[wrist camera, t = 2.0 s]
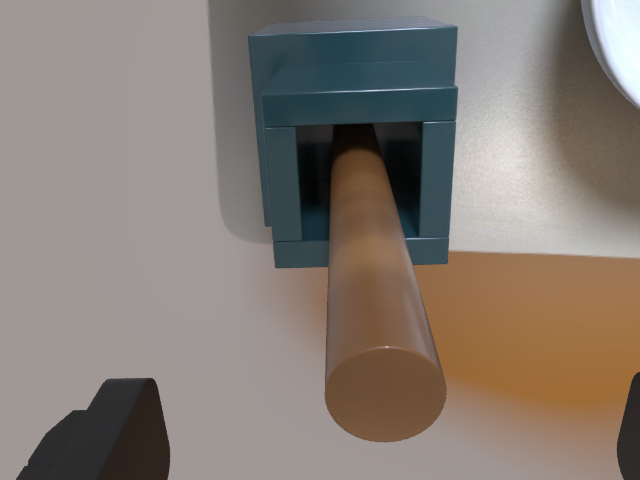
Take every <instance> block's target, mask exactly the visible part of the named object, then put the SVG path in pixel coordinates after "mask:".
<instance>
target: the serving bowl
mask: <svg viewBox="0 0 640 480" xmlns="http://www.w3.org/2000/svg"><path fill="white" fill-rule="evenodd" d="M581 7H582V13H583V19H584V24H585V28H586V32H587V35H588V38H589V41H590V44H591V47H592V49H593V51H594V54H595V56H596V58H597V60H598V62H599V64H600V65H601V67H602V69H603V70H604V72H605V74H606V75H607V77H608V78H609V79H610V81H611V82H612V83H613V85H614V86H615V87H616V88H617V89H618V90H619V92H620V93H621V94H622V95H623V96H624V97H625V98H626V99H627V100H628V101H629V102H630V103H632V104H633V105H634V106H635V107H636V108H638V109H639V110H640V0H581Z"/></svg>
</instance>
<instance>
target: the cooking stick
mask: <svg viewBox="0 0 640 480" xmlns="http://www.w3.org/2000/svg"><path fill="white" fill-rule="evenodd" d="M445 401H446V384H445V379H444V376H443V372H442V368H441V365H440V361H439V358H438V354H437V351H436V347H435V343H434V340H433V336H432V333H431V329H430V325H429V322H428V318H427V315H426V311H425V308H424V304H423V301H422V297H421V293H420V290H419V286H418V282H417V279H416V275H415V272H414V268H413V265H412V261H411V257H410V254H409V250H408V247H407V243H406V239H405V236H404V232H403V229H402V225H401V222H400V218H399V214H398V211H397V207H396V204H395V200H394V196H393V193H392V189H391V186H390V182H389V179H388V175H387V171H386V168H385V164H384V161H383V157H382V153H381V150H380V146H379V143H378V139H377V136H376V132H375V128H374V126H373V124H372V123H367V124H339V125H335V126H334V128H333V132H332V161H331V196H330V231H329V266H328V302H327V336H326V372H325V402H326V405H327V409H328V411H329V413H330V414H331V416H332V418H333V419H334V421H336V423H337V424H338V425H339V426H340V427H341V428H343V429H344V430H345V431H347V432H348V433H350V434H352V435H354V436H356V437H358V438H361V439H364V440H369V441H374V442H395V441H401V440H404V439H408V438H410V437H413V436H415V435H417V434H419V433H421V432H423V431H424V430H426V429H427V428H428V427H429V426H430V425H432V424H433V423H434V421H435V420H436V419H437V418H438V416H439V415H440V413H441V411H442V409H443V407H444V403H445Z"/></svg>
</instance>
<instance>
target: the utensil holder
mask: <svg viewBox="0 0 640 480" xmlns="http://www.w3.org/2000/svg"><path fill="white" fill-rule="evenodd" d="M457 33H458V27H457V26H455V25H451V24H448V23H444V22H441V21H437V20H434V19H430V18H427V17H400V18H377V19H354V20H331V21H308V22H285V23H272V24H270V25H268V26H266V27H264V28H262V29H260V30H258V31H256V32H254V33H252V34H250V35H248V44H249V55H250V66H251V77H252V88H253V99H254V111H255V122H256V133H257V144H258V155H259V166H260V177H261V189H262V200H263V211H264V222H265V226H266V227H267V226H272V237H273V249H274V261H275V268H305V267H328V266H329V231H330V196H331V161H332V132H333V128H334V126H335V125H339V124H367V123H372V124H373V126H374V128H375V132H376V136H377V139H378V143H379V146H380V150H381V153H382V157H383V161H384V164H385V168H386V171H387V175H388V179H389V182H390V186H391V189H392V193H393V196H394V200H395V204H396V207H397V211H398V214H399V218H400V222H401V225H402V229H403V232H404V236H405V239H406V243H407V247H408V250H409V254H410V257H411V261H412V265H425V264H427V265H428V264H447V262H448V248H449V231H450V214H451V198H452V181H453V164H454V148H455V131H456V121H455V120H456V115H457V98H458V87H457V86H456V85H455V68H456V50H457Z"/></svg>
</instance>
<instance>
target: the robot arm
mask: <svg viewBox="0 0 640 480" xmlns="http://www.w3.org/2000/svg"><path fill="white" fill-rule="evenodd" d="M617 458H618V463H619V467H620V471H621V474H622V476H623V479H624V480H640V372H638V373H637V374H636V375H635V376H634V378H633V380H632V383H631V386H630V391H629V395H628V399H627V403H626V407H625V412H624V416H623V420H622V424H621V428H620V433H619V437H618V442H617ZM169 467H170V446H169V440H168V436H167V431H166V426H165V421H164V416H163V411H162V406H161V401H160V396H159V391H158V387H157V384H156V382H155V380H154V379H152V378H130V379H129V378H125V379H107V380H106V381H105V382H104V383H103V384H102V386H101V387H100V389H99V391H98V392H97V394H96V396H95V397H94V399H93V401H92V402H91V404H90V406H89V407H88V409H87V410H73V411H72V412H71V413H70V414H69V415H67V416H66V417H65V418H64V419H63V420H61V421H60V422H59V423H58V424H57V425H56V426H54V427H53V428H52V429H51V430H50V431H49V432H47V433H46V434H45V436H44V437H43V439H42V440H41V442H40V444H39V445H38V447H37V448H36V450H35V451H34V453H33V454H32V456H31V457H30V459H29V460H28V466H25V467H24V468H23V470H22V471H21V472H20V474H19V476H18V477H17V479H16V480H167V479H168V474H169Z"/></svg>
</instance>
